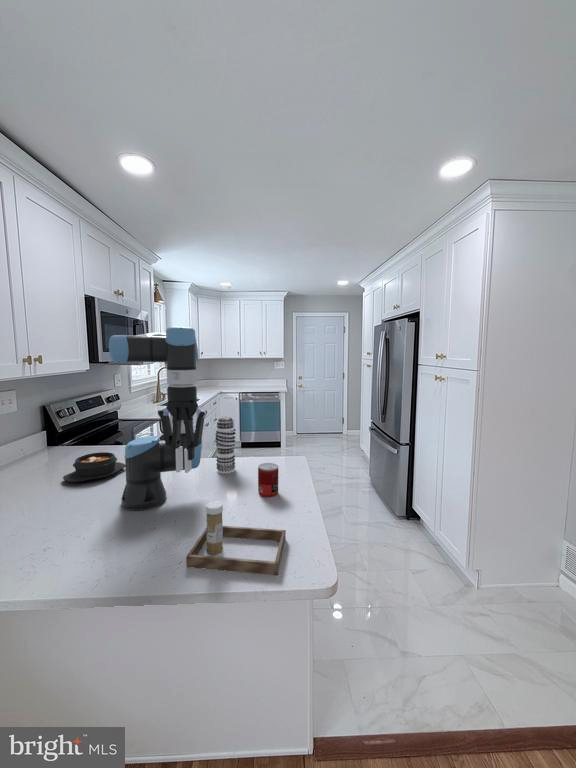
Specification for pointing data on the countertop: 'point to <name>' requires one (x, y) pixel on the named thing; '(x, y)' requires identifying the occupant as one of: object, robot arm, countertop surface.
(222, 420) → the decorative candle
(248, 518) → the countertop surface
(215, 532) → the sprinkles bottle
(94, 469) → the casserole
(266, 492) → the canned food
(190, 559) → the frame
